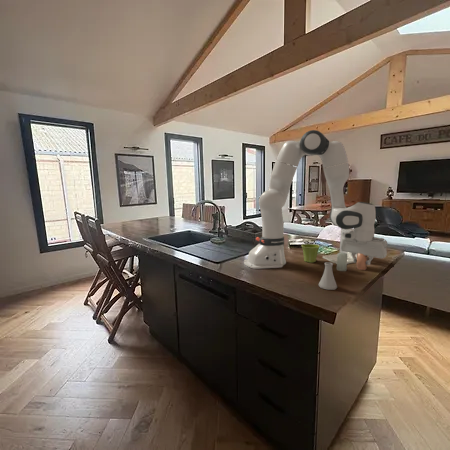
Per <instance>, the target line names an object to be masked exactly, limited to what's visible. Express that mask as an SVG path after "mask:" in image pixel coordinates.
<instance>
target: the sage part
mask: <svg viewBox="0 0 450 450" xmlns="http://www.w3.org/2000/svg"><path fill="white" fill-rule="evenodd" d="M347 266H348V264H347V254H346V253H340V252H337V264H336V271H339V272H347V269H348V268H347Z"/></svg>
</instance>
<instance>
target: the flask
mask: <svg viewBox="0 0 450 450" xmlns="http://www.w3.org/2000/svg"><path fill="white" fill-rule="evenodd" d="M333 265H334V263H333V262H331V261H329V262H324V270H323V273H322V277H321V278H320V281H319V282H318V287H320V289H324V290H327V291H328V290H329V291H330V290H332V291H333V290H336V289H337V288H338V285H337V281H336V280H335V279H336V278H335V277H334V273H333Z"/></svg>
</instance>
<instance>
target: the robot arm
mask: <svg viewBox="0 0 450 450" xmlns="http://www.w3.org/2000/svg"><path fill="white" fill-rule="evenodd" d="M315 156H318V157H319V158H320V160H321V163H322V168H323V174H324V178H325V181H326V184H327V187H328V191H329V196H330V197H329V198H330V203H331V208H330V212H329V221H330V222H331V223H332V225H334V226H336V227H338V228H340V229H341V228H342V229H354V231H351V232H347V233H344V234H343V237H344V238H343V239H342V241H341V250H342V251H345V252H350V253H351V255H352V257H353V262H356V263H357V258H356V256H355V255H356V254H358V253H360V254H364V255H366V256H367V257H368V259H367V261H366V265H367V266H370V265H371V262H372V260H373V259H374V258H377V259H385V258H386V257H387V255H388V252H387V250H388V249H387V248H388V241H387V240H386V239H385V238H383V237H378V236H377V237H376V236H375V223H376V216H377V215H376V214H377V213H376V212H377V211H376V206H375V205H374V204H373V203H372V202H371V203H370V202H364V201H358V202H356V203H355V204H353V205H350V206H348V207H347V206H346V202H345V195H344V187H345V184H346V182H347V181H348V180H349V178H350V163H349V159H348V155H347V151H346V149H345V146H344V144H343V143H342V142H341V141H337V140H333V141H330V140H329V139H328V138H327V137H326V136H325V135H324V133H322V132H321V131H319V130H317V129H312V130H308V131H306V132H305V133H304V134H303V135H302V136H301V138H300V140H298V141H295V140H287V141H285V142H284V144H283V145H282V146H281V148H280V150H279V151H278V155H277V157H276V160H275V162H274V166H273V168H272V171H271V174H270V180H269V185H268V190H265V191H263V192H262V193H261V195H260V197H259V198H258V205H259V208H260V214H261V215H260V216H261V223H262V227H261V228H262V230H261V231H262V233H261V237H259V236H257V237H256V238H255V240H256V241H257V242H259V243H258V244H257V245H256V246H255V247H253V248H252V249H251V250H250V251H249V252H248V257H247V258H246V259H244V260H243V263H244V265H245V266H246V267H248V268H251V269H253V270H258V269H277V268H279V269H280V268H283V267H284V266H285V265H286V264H287V261H286V257H285V249H284V247H285V236H284V231H285V229H284V223H285V222H284V219H283V218H284V217H283V207H285V205H286V203H287V200H288V197H289V193H290V190H291V189H290V188H291V185H292V182H293V179H294V177H295V174H296V172H297V169H298V166H299V163H300V162H301V160H302V158H303V157H315Z"/></svg>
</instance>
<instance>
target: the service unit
mask: <svg viewBox="0 0 450 450" xmlns="http://www.w3.org/2000/svg"><path fill="white" fill-rule="evenodd" d="M351 231H354V228H352V229H342V228H340V239H339V240H340V241H339V253H346V254H347V265H349V264H353V263H354V264H355V263H356V264H357V262H353V257H352V255H351V253H350V252H345V251H342V250H341V241H342V239H343V238H344V237H343V234H344V233H347V232H351ZM337 254H338V253H337ZM337 254H329V255H326V254H325V255H322V259H325V260H327V261H329V262H330V263H333V264H336V265H337ZM355 256H356V258H357V254H356V255H355Z"/></svg>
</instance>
